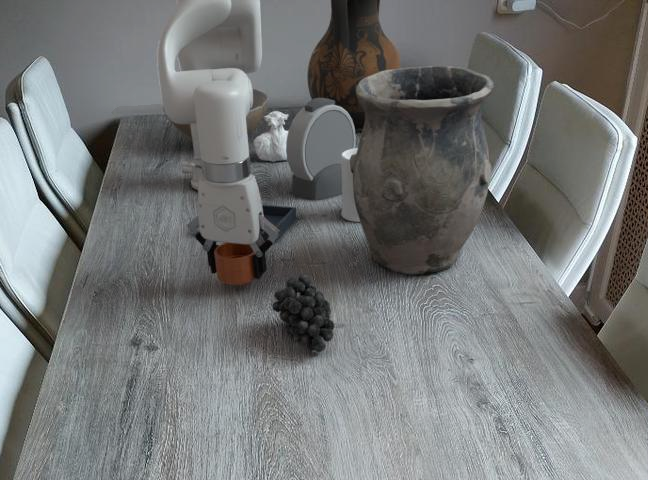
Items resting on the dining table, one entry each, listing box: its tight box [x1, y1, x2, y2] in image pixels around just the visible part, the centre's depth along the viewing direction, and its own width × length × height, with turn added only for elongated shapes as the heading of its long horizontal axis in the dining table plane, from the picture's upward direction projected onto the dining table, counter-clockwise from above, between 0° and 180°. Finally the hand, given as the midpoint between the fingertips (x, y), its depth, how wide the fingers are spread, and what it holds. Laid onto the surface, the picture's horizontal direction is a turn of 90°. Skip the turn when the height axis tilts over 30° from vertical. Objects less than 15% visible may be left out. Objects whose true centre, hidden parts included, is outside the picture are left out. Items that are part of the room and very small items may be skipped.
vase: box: [306, 0, 402, 133], centre depth 201 cm, size 24×24×35 cm
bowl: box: [162, 88, 269, 140], centre depth 201 cm, size 26×26×10 cm
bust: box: [252, 110, 289, 163], centre depth 190 cm, size 12×8×11 cm
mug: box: [340, 147, 361, 223], centre depth 159 cm, size 12×8×12 cm
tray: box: [261, 204, 297, 243], centre depth 159 cm, size 16×12×2 cm
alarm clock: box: [286, 98, 357, 201], centre depth 169 cm, size 16×10×18 cm, turn 134°
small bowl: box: [214, 242, 257, 286], centre depth 136 cm, size 7×7×5 cm
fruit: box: [271, 274, 335, 353], centre depth 121 cm, size 9×8×15 cm
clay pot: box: [350, 65, 495, 276], centre depth 136 cm, size 22×23×30 cm
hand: (238, 272), depth 137 cm, fingers closed on small bowl, 7 cm apart
